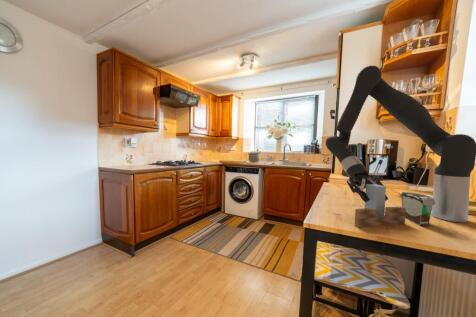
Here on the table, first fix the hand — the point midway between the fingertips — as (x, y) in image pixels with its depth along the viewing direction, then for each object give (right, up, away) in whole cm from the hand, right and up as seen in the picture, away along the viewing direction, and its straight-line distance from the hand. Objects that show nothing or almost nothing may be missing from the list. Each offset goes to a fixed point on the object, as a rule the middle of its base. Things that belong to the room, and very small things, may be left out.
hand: (376, 200), depth 71 cm
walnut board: (-3, -7, -6) cm, 10 cm away
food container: (+15, -8, -2) cm, 17 cm away
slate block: (0, -7, +1) cm, 7 cm away
